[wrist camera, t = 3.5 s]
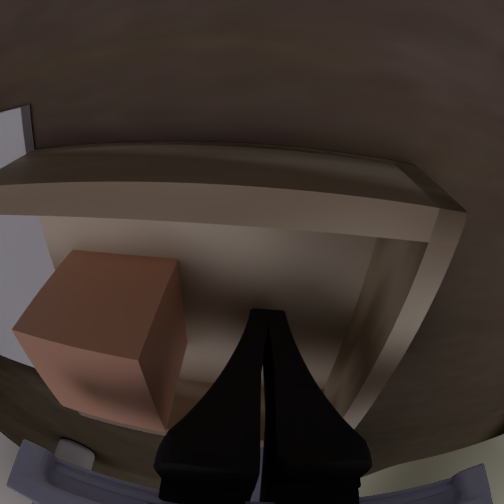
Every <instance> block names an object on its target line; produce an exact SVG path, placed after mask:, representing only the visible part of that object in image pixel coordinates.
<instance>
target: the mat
mask: <svg viewBox="0 0 504 504" xmlns="http://www.w3.org/2000/svg"><path fill="white" fill-rule="evenodd" d="M33 150H35V149H34V141H33V134H32V125H31V115H30V105H26V106H21V107H18V108H14V109H10V110H6V111H3V112H0V169H1V168H2V167H4V166H6V165H8V164H9V163H11V162H13V161H14V160H16V159H18V158H20V157H22V156H23V155H25V154H27V153H29V152H31V151H33ZM54 271H55V269H54V266H53V263H52V259H51V256H50V253H49V250H48V247H47V243H46V240H45V236H44V233H43V229H42V226H41V222H40V218H39V216H31V215H0V355H2V356H5V357H7V358H10V359H12V360H15V361H18V362H20V363H23V364H26V365H29V366H31V367H34V366H33V364H32V362H31V361H30V359H29V358H28V356H27V355H26V353H25V351H24V350H23V348H22V346H21V345H20V343H19V341H18V340H17V338H16V336H15V335H14V333H13V331H12V328H13V327H14V325H15V324H16V322H17V321H18V320H19V318H20V317H21V315H22V314H23V312H24V311H25V310H26V308H27V307H28V305H29V304H30V303H31V301H32V300H33V299H34V297H35V296H36V295H37V293H38V292H39V291H40V289H41V288H42V287H43V285H44V284H45V283H46V282H47V280H48V279H49V278H50V276H51V275H52V274H53V273H54ZM34 368H35V367H34Z"/></svg>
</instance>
